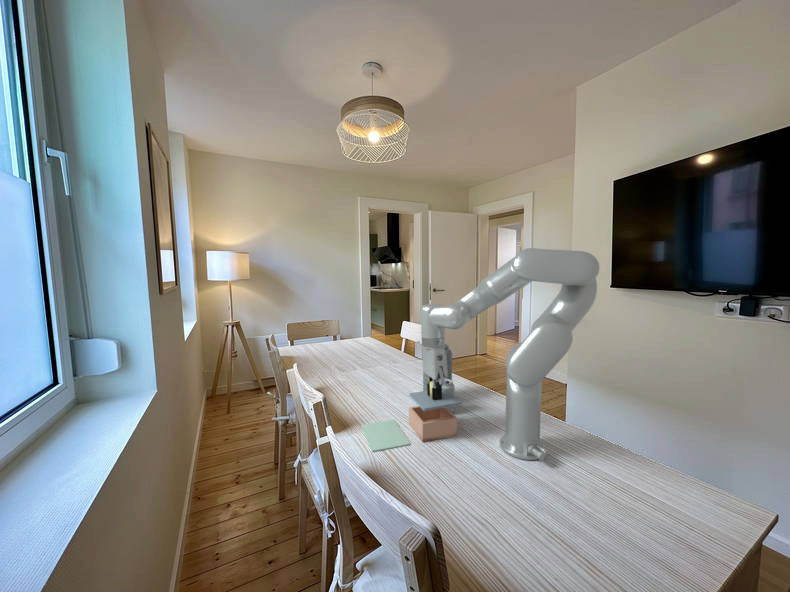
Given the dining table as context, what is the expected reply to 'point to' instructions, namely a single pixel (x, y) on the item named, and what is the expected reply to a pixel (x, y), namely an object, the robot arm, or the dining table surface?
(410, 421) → the salmon open box
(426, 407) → the lid
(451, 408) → the can
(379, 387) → the dining table surface
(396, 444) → the mat
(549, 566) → the dining table surface
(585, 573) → the dining table surface
